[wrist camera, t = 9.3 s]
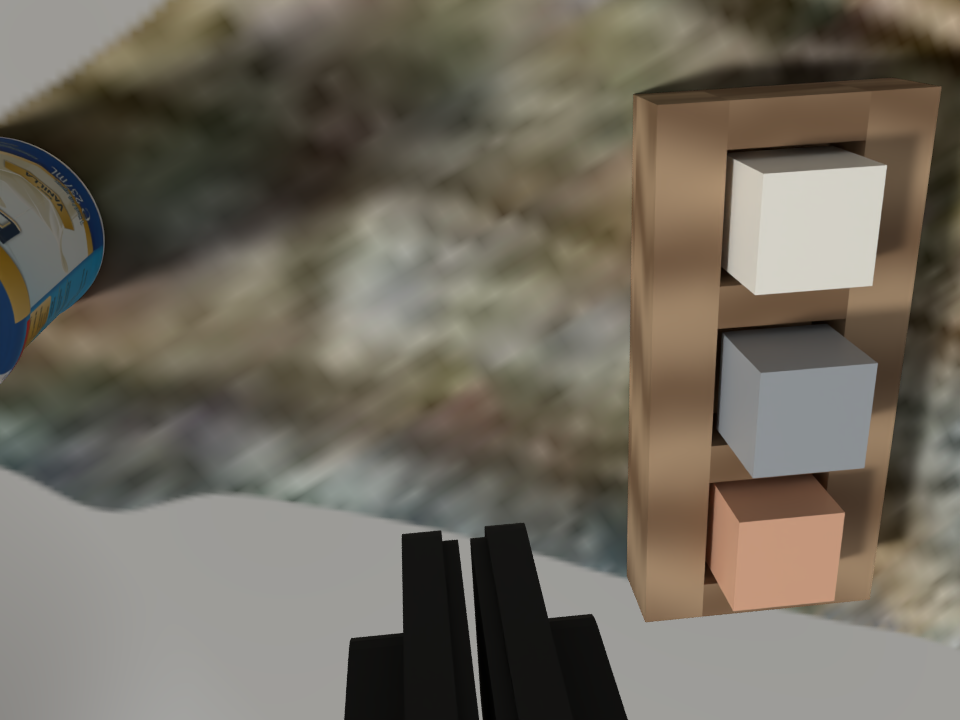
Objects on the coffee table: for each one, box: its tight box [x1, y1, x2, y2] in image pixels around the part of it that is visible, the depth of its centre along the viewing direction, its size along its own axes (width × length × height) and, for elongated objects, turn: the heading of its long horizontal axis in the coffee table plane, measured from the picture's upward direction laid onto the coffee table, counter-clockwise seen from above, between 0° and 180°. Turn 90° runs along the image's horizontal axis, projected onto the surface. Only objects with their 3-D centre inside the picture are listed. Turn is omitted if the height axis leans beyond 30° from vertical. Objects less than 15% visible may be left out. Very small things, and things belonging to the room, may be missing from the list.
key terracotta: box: [705, 474, 845, 611], centre depth 45 cm, size 5×5×5 cm
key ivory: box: [721, 146, 887, 295], centre depth 39 cm, size 5×5×5 cm
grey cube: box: [716, 324, 878, 478], centre depth 41 cm, size 5×5×5 cm
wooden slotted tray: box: [627, 78, 942, 622], centre depth 44 cm, size 26×12×4 cm, turn 3°
